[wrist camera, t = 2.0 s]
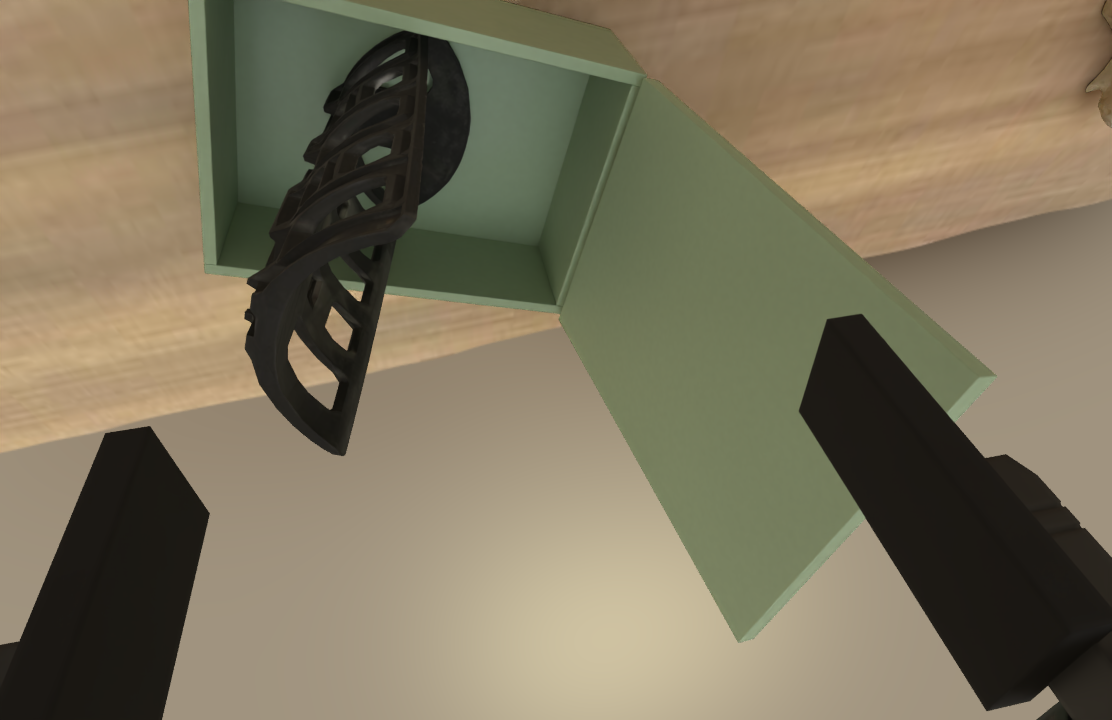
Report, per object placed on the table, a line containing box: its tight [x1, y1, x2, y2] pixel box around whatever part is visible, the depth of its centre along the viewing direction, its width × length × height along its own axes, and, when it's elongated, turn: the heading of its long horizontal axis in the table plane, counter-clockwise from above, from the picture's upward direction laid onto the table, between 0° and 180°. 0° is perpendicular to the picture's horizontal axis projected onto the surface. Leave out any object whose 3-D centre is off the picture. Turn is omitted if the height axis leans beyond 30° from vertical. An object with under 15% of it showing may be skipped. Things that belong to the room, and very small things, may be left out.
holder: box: [244, 30, 471, 456], centre depth 29 cm, size 11×8×20 cm
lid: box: [559, 78, 997, 643], centre depth 28 cm, size 20×14×1 cm
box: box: [188, 0, 647, 314], centre depth 35 cm, size 19×14×7 cm
